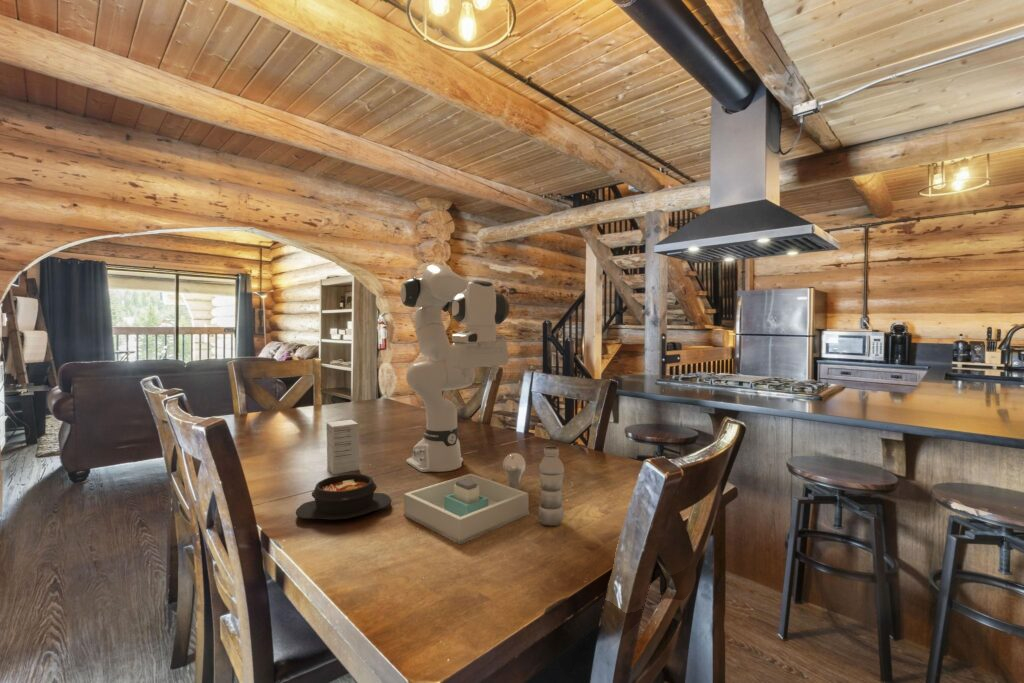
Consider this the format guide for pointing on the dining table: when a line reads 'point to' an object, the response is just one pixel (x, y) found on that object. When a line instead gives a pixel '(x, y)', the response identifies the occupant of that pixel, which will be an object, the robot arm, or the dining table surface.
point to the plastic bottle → (551, 488)
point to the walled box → (465, 508)
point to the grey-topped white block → (466, 491)
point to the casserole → (343, 498)
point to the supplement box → (342, 446)
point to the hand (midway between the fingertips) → (480, 381)
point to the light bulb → (514, 469)
